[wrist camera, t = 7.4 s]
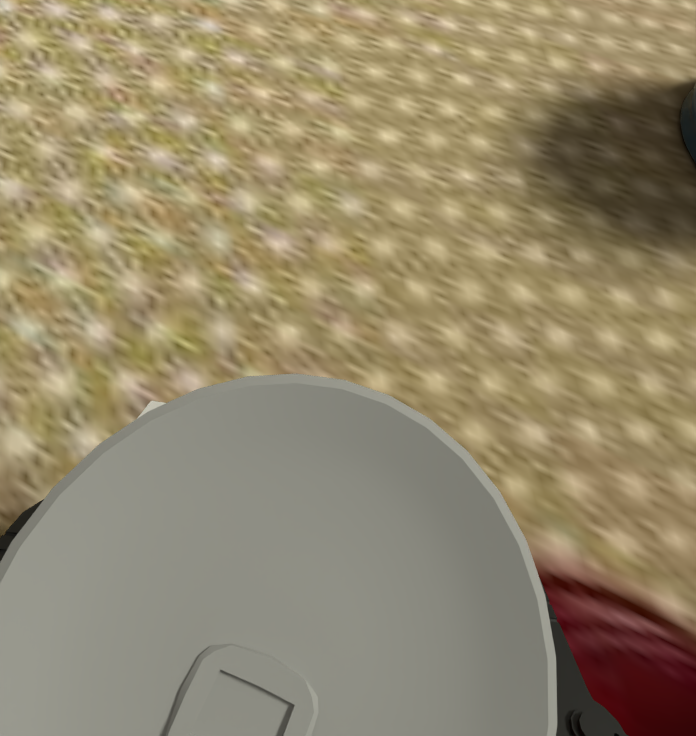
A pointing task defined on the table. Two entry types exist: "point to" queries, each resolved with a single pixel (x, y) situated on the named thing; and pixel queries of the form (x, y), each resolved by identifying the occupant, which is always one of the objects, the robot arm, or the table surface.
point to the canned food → (275, 579)
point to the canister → (689, 122)
